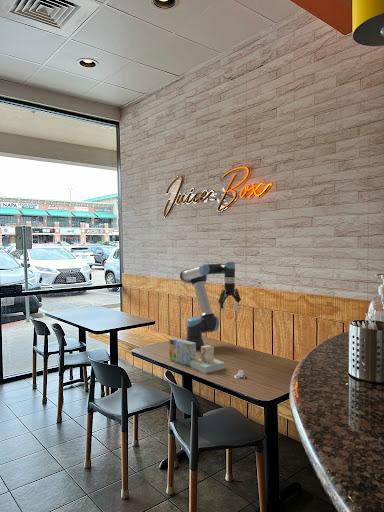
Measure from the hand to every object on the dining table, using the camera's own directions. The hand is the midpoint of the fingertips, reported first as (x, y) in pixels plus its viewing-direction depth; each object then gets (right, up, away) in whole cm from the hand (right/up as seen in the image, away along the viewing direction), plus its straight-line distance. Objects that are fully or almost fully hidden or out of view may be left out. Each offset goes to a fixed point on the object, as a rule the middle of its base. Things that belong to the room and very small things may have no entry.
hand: (229, 311), depth 290 cm
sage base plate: (-18, -33, -29) cm, 47 cm away
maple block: (-18, -29, -29) cm, 45 cm away
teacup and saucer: (+5, -35, -45) cm, 57 cm away
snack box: (-34, -33, -17) cm, 50 cm away
